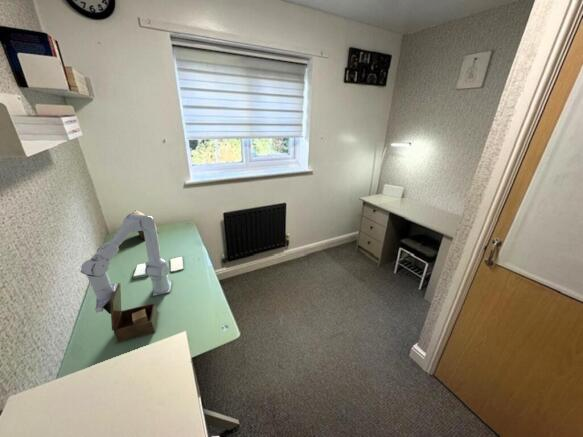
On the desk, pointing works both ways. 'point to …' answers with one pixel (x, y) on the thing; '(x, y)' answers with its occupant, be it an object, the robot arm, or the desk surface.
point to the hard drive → (140, 271)
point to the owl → (141, 230)
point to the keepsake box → (129, 330)
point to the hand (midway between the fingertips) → (112, 312)
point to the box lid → (116, 306)
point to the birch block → (139, 317)
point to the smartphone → (176, 264)
